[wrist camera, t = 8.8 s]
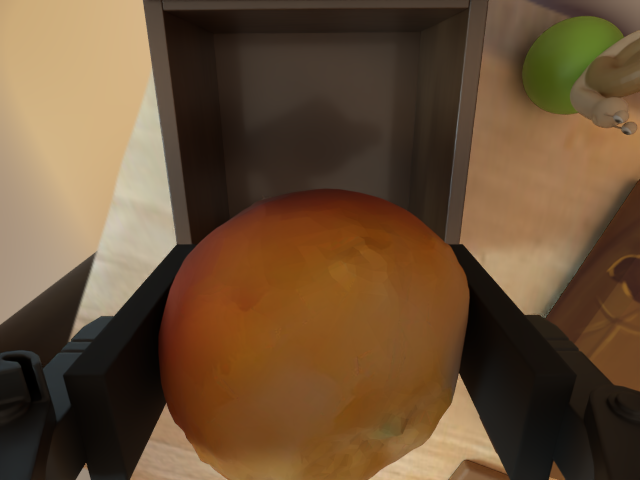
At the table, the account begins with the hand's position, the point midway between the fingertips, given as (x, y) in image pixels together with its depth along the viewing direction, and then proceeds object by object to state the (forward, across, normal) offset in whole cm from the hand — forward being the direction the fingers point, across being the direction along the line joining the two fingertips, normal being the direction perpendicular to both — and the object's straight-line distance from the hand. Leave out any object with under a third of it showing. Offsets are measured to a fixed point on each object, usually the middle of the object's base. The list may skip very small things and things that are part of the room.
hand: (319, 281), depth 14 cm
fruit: (0, 0, 0) cm, 0 cm away
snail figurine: (+17, -15, -7) cm, 24 cm away
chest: (+17, 0, -2) cm, 17 cm away
